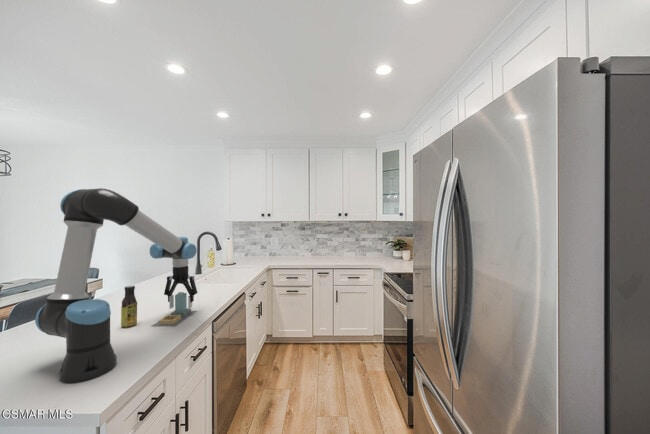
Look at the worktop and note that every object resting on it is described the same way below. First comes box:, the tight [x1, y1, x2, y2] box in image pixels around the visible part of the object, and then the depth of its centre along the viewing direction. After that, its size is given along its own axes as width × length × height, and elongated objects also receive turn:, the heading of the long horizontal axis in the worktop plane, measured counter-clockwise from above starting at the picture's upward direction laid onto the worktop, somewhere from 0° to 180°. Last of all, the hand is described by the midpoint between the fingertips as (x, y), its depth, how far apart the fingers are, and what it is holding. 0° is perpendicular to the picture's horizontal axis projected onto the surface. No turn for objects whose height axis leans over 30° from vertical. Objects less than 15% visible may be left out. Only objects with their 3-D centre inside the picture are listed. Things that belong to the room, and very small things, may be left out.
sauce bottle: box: [120, 285, 138, 329], centre depth 134 cm, size 7×6×20 cm
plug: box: [174, 291, 188, 313], centre depth 148 cm, size 4×4×12 cm
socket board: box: [150, 308, 198, 328], centre depth 143 cm, size 22×12×3 cm, turn 179°
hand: (180, 307), depth 148 cm, fingers open, 9 cm apart
